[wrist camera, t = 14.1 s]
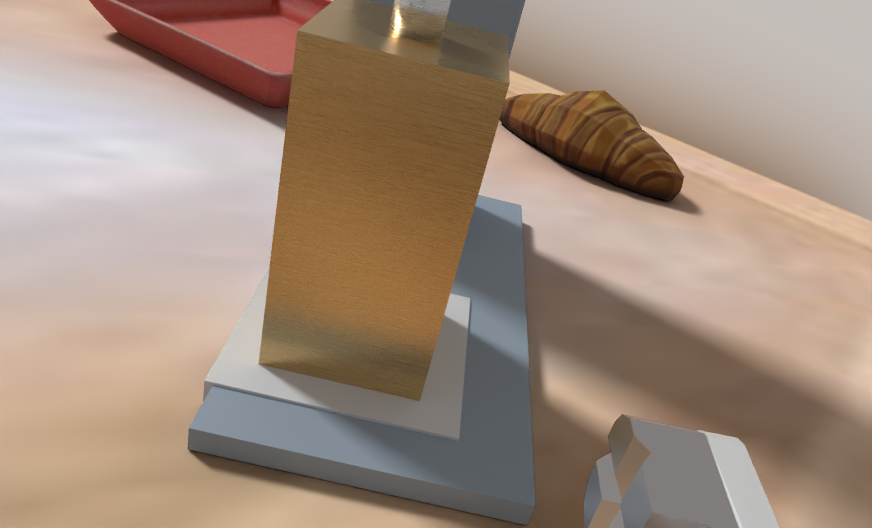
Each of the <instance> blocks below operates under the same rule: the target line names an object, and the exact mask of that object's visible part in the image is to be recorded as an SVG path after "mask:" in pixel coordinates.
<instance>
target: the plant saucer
mask: <svg viewBox="0 0 872 528" xmlns="http://www.w3.org/2000/svg"><path fill="white" fill-rule="evenodd" d="M89 1H90V2H91V3H92V4H93V6H94V7H95V8H96V9H97V10H98V11H99V12H100V14H101V15H102V16H103V17H104V18H105V19H106V20H107V21H108V22H109V23H110V24H111V25H112V26H113V27H114V28H115V29H116V30H117V31H118V32H119V33H120V34H121V35H123V36H125V37H127V38H129V39H131V40H133V41H135V42H137V43H139V44H141V45H143V46H145V47H147V48H149V49H151V50H153V51H155V52H157V53H160V54H162V55H164V56H166V57H168V58H170V59H172V60H174V61H176V62H178V63H180V64H182V65H184V66H186V67H188V68H190V69H192V70H194V71H196V72H198V73H200V74H202V75H204V76H206V77H208V78H210V79H212V80H214V81H216V82H218V83H220V84H222V85H224V86H227V87H229V88H231V89H233V90H235V91H237V92H238V93H240V94H242V95H245V96H247V97H249V98H251V99H253V100H255V101H257V102H259V103H261V104H263V105H265V106H268V107H275V108H278V107H285V106H288V105H289V97H290V88H291V80H292V71H293V63H294V54H295V45H296V37H297V30H298V29H300V28H301V27H302V26H303V25H304V24H306V23H307V22H308V21H309V20H311V19H312V18H313V17H314V16H315V15H317V14H318V13H319V12H320V11H322V10H323V9H324V8H325V7H327V6H328V5H329V4H330V3H331V2H333V1H331V0H89Z"/></svg>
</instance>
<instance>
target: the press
mask: <svg viewBox="0 0 872 528" xmlns="http://www.w3.org/2000/svg"><path fill="white" fill-rule="evenodd" d="M367 1H371V2H375V3H379V4H383V5H387V6H391V7H393V6H394V1H395V0H367ZM524 3H525V0H451V3H450V7H449V12H448V16H447V21H450V22H454V23H458V24H462V25H466V26H470V27H474V28H478V29H482V30H486V31H490V32H494V33H498V34H502V35H506V36H508V39H509V57H510V54H511V50H512V47H513V43H514V39H515V35H516V32H517V28H518V25H519V21H520V18H521V14H522V10H523V6H524ZM269 269H270V268H269ZM268 277H269V270H268V272H267V273H266V275H265V277H264V279H263V280H262V282H261V284H260V285H259V287H258V289H257V291H256V292H255V294H254V296H253V298H252V299H251V301H250V303H249V304H248V306H247V308H246V310H245V311H244V313H243V315H242V317H241V318H240V320H239V322H238V323H237V325H236V327H235V329H234V330H233V332H232V334H231V336H230V337H229V339H228V341H227V342H226V344H225V346H224V348H223V349H222V351H221V353H220V355H219V356H218V358H217V360H216V361H215V363H214V365H213V367H212V368H211V370H210V372H209V374H208V375H207V377H206V379H205V380H204V396H203V404H202V405H201V407H200V409H199V411H198V413H197V414H196V416H195V418H194V420H193V422H192V423H191V425H190V427H189V436H188V449H189V450H194V451H198V452H203V453H207V454H212V455H216V456H220V457H225V458H229V459H234V460H238V461H243V462H247V463H252V464H256V465H261V466H265V467H269V468H274V469H278V470H283V471H287V472H292V473H296V474H301V475H305V476H309V477H314V478H318V479H323V480H327V481H332V482H336V483H341V484H345V485H350V486H354V487H358V488H363V489H367V490H372V491H376V492H381V493H385V494H390V495H394V496H398V497H403V498H407V499H412V500H416V501H421V502H425V503H430V504H434V505H439V506H443V507H447V508H452V509H456V510H461V511H465V512H470V513H474V514H479V515H483V516H487V517H492V518H496V519H501V520H505V521H510V522H514V523H519V524H523V525H528V522H529V520H530V518H531V516H532V513H533V511H534V509H535V507H536V504H535V483H534V462H533V441H532V420H531V399H530V378H529V357H528V336H527V315H526V294H525V273H524V252H523V231H522V210H521V205H517V204H513V203H509V202H505V201H501V200H497V199H493V198H489V197H484V196H480V195H478V197H477V200H476V204H475V207H474V211H473V215H472V218H471V222H470V225H469V229H468V232H467V236H466V239H465V243H464V246H463V250H462V254H461V257H460V261H459V264H458V268H457V271H456V275H455V278H454V282H453V286H452V289H451V293H450V296H449V300H448V303H447V307H446V310H445V314H444V317H443V321H442V325H441V328H440V332H439V335H438V339H437V342H436V346H435V349H434V353H433V357H432V360H431V364H430V367H429V371H428V374H427V378H426V381H425V385H424V388H423V392H422V396H421V399H420V401H417V400H413V399H408V398H404V397H400V396H395V395H391V394H386V393H382V392H378V391H373V390H369V389H365V388H360V387H356V386H352V385H347V384H343V383H339V382H334V381H330V380H326V379H321V378H317V377H313V376H308V375H304V374H300V373H295V372H291V371H286V370H282V369H278V368H273V367H269V366H265V365H260V364H258V363H259V354H260V346H261V337H262V329H263V320H264V311H265V303H266V294H267V286H268Z"/></svg>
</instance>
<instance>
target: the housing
mask: <svg viewBox="0 0 872 528" xmlns="http://www.w3.org/2000/svg"><path fill="white" fill-rule="evenodd" d="M450 3H451V0H395V1H394V6H393V7H391V6H387V5H383V4H379V3H375V2H371V1H367V0H334V1H333V2H331V3H330V4H329V5H328V6H327V7H325V8H324V9H323V10H322V11H320V12H319V13H318V14H317V15H315V16H314V17H313V18H312V19H311V20H309V21H308V22H307V23H306V24H304V25H303V26H302V27H301V28H300V29H298V30H297V37H296V45H295V54H294V63H293V71H292V80H291V88H290V97H289V105H288V114H287V123H286V131H285V140H284V148H283V157H282V166H281V174H280V183H279V191H278V200H277V208H276V217H275V226H274V234H273V243H272V251H271V260H270V269H269V277H268V286H267V294H266V303H265V311H264V320H263V329H262V337H261V346H260V354H259V363H258V364H260V365H265V366H269V367H273V368H278V369H282V370H286V371H291V372H295V373H300V374H304V375H308V376H313V377H317V378H321V379H326V380H330V381H334V382H339V383H343V384H347V385H352V386H356V387H360V388H365V389H369V390H373V391H378V392H382V393H386V394H391V395H395V396H400V397H404V398H408V399H413V400H417V401H420V399H421V396H422V392H423V388H424V385H425V381H426V378H427V374H428V371H429V367H430V364H431V360H432V357H433V353H434V349H435V346H436V342H437V339H438V335H439V332H440V328H441V325H442V321H443V317H444V314H445V310H446V307H447V303H448V300H449V296H450V293H451V289H452V286H453V282H454V278H455V275H456V271H457V268H458V264H459V261H460V257H461V254H462V250H463V246H464V243H465V239H466V236H467V232H468V229H469V225H470V222H471V218H472V215H473V211H474V207H475V204H476V200H477V197H478V193H479V190H480V186H481V183H482V179H483V175H484V172H485V168H486V165H487V161H488V158H489V154H490V151H491V147H492V144H493V140H494V136H495V133H496V129H497V126H498V122H499V119H500V115H501V112H502V108H503V104H504V101H505V97H506V94H507V90H508V87H509V39H508V36H506V35H502V34H498V33H494V32H490V31H486V30H482V29H478V28H474V27H470V26H466V25H462V24H458V23H454V22H450V21H447V16H448V12H449V7H450Z"/></svg>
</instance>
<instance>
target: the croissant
mask: <svg viewBox="0 0 872 528" xmlns="http://www.w3.org/2000/svg"><path fill="white" fill-rule="evenodd" d="M499 120H500V121H501V122H502V123H503V124H504V125H505V126H506V127H507V128H508V129H509V130H510V131H512V132H513V133H514V134H516V135H517V136H519V137H520V138H522V139H523V140H525V141H527V142H529V143H531V144H533V145H535V146H537V147H538V148H540V149H541V150H543V151H544V152H546V153H547V154H549V155H551V156H552V157H554V158H555V159H557V160H559V161H560V162H562V163H564V164H566V165H568V166H571V167H574V168H576V169H579V170H581V171H584V172H587V173H589V174H592V175H594V176H597V177H600V178H602V179H604V180H607V181H609V182H611V183H613V184H615V185H618V186H621V187H623V188H626V189H629V190H632V191H634V192H637V193H640V194H642V195H646V196H650V197H655V198H660V199H664V200H673V199H674V198H675V196H676V195H677V194H678V193H679V192H680V190H681V188H682V184H683V179H684V176H683V174H682V173H681V171H680V169H679V168H678V166H677V165H676V163H675V161H674V160H673V158H672V157H671V156H670V155H669V154H668V153H667V152H666V151H665V150H664V149H663V148H662V146H661V145H660V144H659V143H658V142H657V141H656V140H655V139H654V138H653V137H652V136H650V135H649V134H648V133H646V132H645V131H644V130H642V128H641V127H640V125H639V123H638V122H637V121H636V119H635V117H634V115H633V114H631V113H630V112H629V111H628V110H627V109H626V108H624V107H623V106H622V105H621V104H620V103H619V102H617V101H616V100H615V99H614V98H613V97H612V96H610V95H609V94H608V93H607V92H605V91H582V92H574V93H570V94H566V95H562V96H560V95H555V94H550V93H547V94H522V95H518V96H514V97H509V98H507V99H505V101H504V104H503V108H502V112H501V115H500V119H499Z"/></svg>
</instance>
